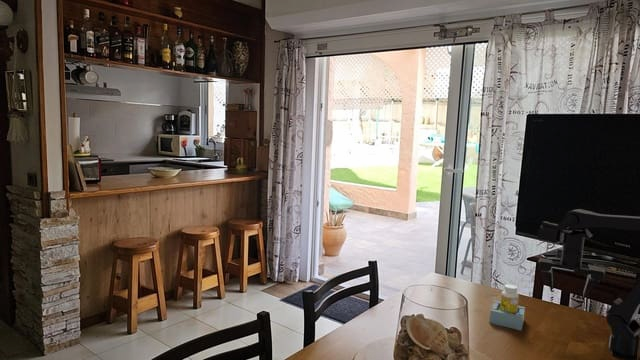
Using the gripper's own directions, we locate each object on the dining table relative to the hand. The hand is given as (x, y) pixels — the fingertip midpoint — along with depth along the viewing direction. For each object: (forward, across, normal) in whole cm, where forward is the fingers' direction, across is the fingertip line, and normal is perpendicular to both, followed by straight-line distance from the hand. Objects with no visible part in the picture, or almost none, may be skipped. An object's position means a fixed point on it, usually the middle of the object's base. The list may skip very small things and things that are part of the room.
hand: (567, 294), depth 141 cm
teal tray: (+13, +17, +2) cm, 21 cm away
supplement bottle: (+10, +17, +2) cm, 20 cm away
